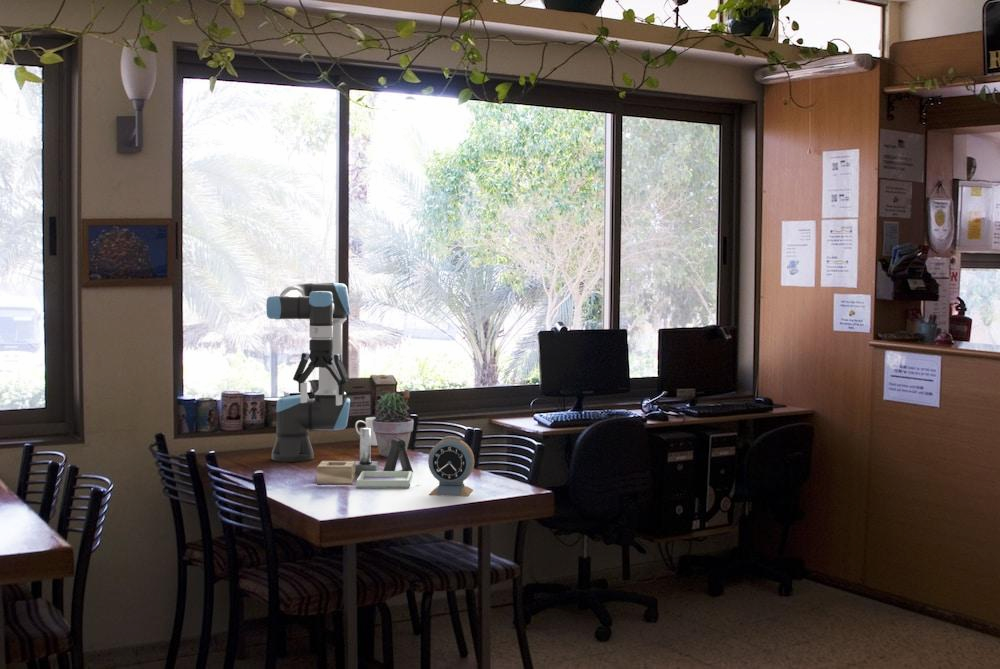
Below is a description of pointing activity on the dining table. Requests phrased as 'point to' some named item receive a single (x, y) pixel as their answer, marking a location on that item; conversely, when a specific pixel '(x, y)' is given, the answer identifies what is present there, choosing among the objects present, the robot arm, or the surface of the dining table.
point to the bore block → (336, 472)
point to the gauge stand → (365, 467)
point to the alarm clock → (451, 466)
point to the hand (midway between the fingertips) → (321, 403)
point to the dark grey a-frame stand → (396, 450)
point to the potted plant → (392, 421)
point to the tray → (384, 483)
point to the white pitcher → (370, 425)
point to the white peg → (365, 445)
